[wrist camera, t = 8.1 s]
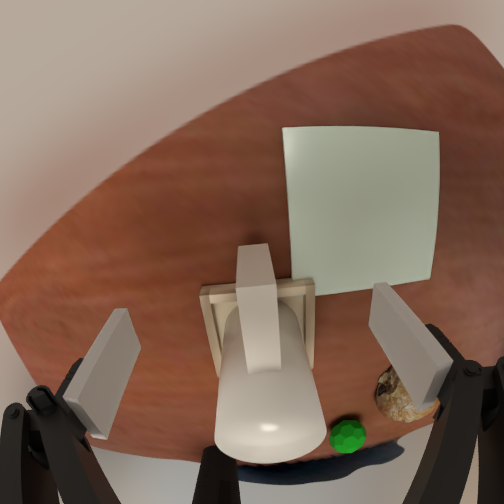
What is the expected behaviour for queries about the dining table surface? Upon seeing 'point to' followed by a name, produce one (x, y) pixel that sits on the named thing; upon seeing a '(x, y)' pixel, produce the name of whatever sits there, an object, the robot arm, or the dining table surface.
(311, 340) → the holder
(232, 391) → the white cylinder with tab
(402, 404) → the bread roll
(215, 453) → the drinking cup
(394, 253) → the plate
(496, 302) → the dining table surface
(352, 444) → the polyhedron
